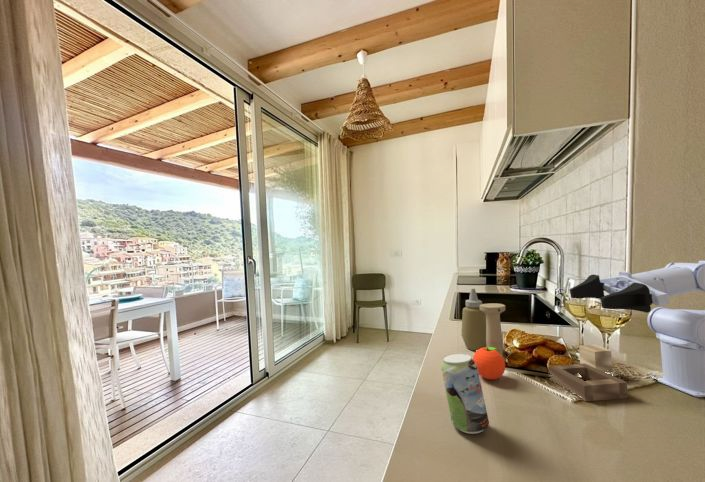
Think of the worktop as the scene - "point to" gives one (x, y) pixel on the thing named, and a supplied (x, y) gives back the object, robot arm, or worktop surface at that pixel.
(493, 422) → the worktop surface
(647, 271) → the robot arm
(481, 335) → the squeeze bottle
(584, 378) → the brown square frame
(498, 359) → the clementine
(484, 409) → the beverage can
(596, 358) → the oak block
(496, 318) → the handle
